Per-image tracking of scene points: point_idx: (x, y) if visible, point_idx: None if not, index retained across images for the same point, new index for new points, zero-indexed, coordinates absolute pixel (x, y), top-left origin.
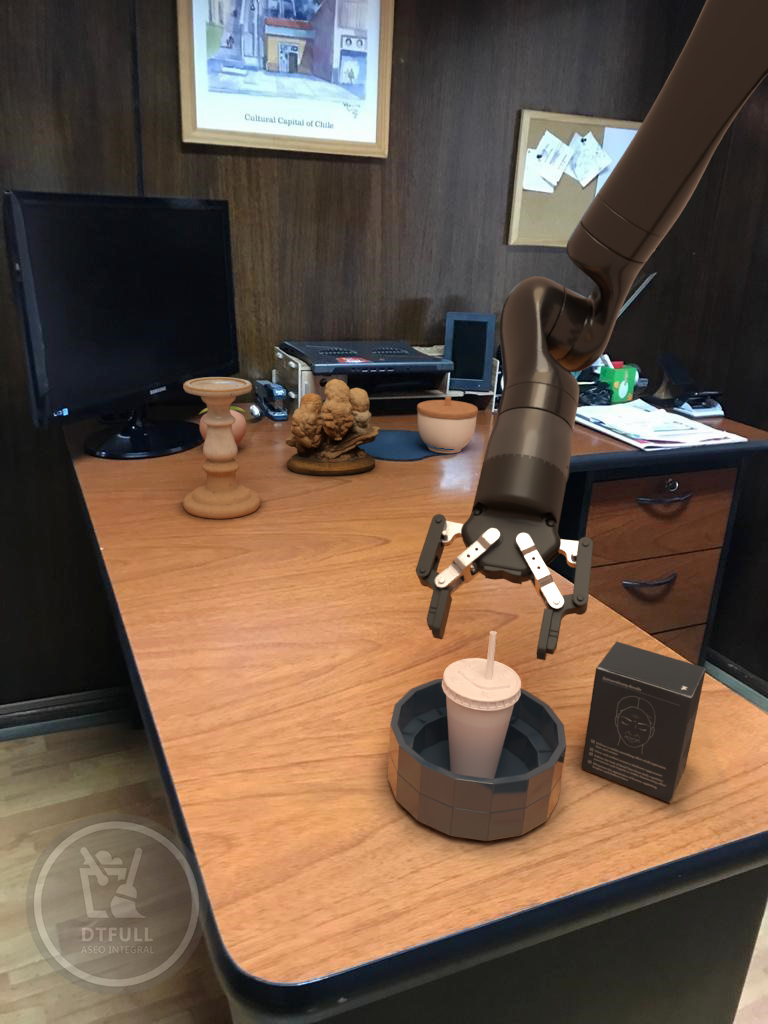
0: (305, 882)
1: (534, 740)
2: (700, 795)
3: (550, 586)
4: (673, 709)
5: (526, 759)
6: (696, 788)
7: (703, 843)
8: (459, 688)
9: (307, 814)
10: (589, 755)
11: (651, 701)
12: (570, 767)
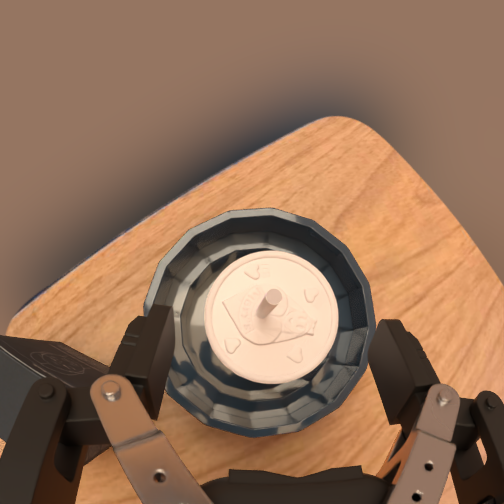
0: (358, 175)
1: (187, 366)
2: None
3: (124, 432)
4: (9, 342)
5: (198, 366)
6: None
7: (45, 298)
8: (304, 273)
9: (388, 239)
10: None
11: (27, 355)
12: None
